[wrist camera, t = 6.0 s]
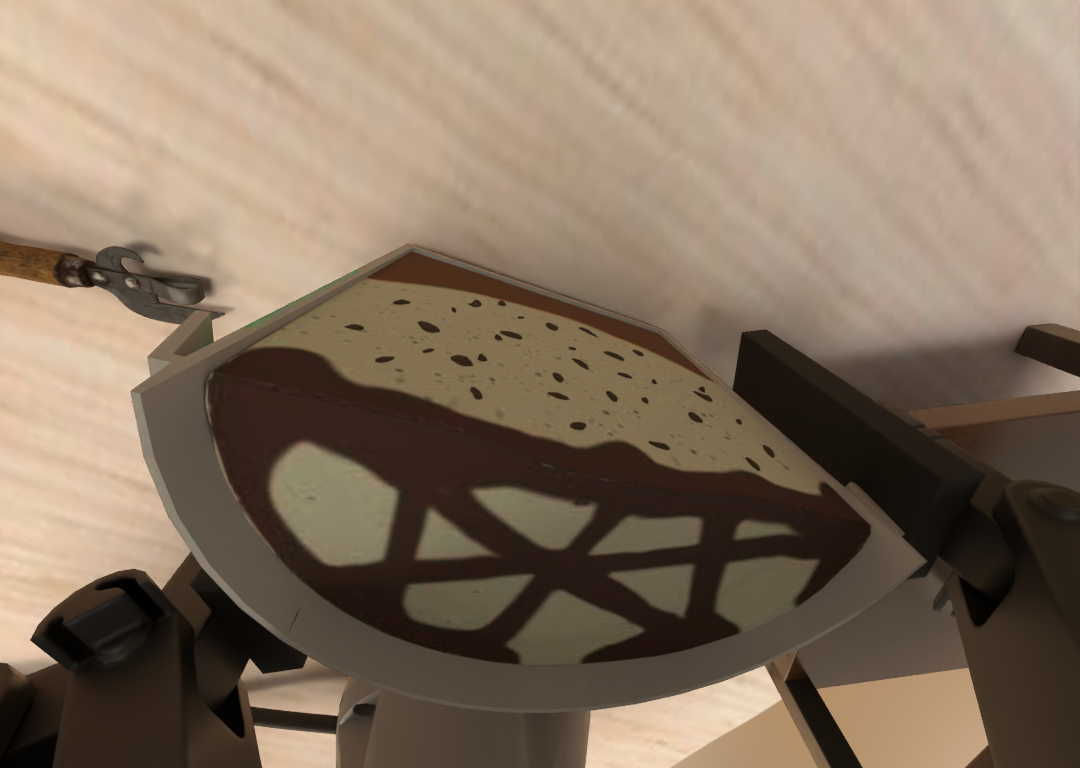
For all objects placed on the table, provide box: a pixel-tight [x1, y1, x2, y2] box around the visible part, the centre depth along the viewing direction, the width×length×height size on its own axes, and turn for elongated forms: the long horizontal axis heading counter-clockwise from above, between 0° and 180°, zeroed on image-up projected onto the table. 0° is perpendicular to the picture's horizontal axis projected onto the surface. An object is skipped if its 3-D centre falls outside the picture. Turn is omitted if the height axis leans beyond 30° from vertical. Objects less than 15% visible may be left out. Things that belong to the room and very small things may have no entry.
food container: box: [130, 244, 928, 713], centre depth 11 cm, size 12×6×10 cm, turn 70°
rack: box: [765, 324, 1080, 768], centre depth 15 cm, size 12×15×12 cm
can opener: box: [0, 241, 225, 324], centre depth 12 cm, size 9×2×1 cm, turn 70°
